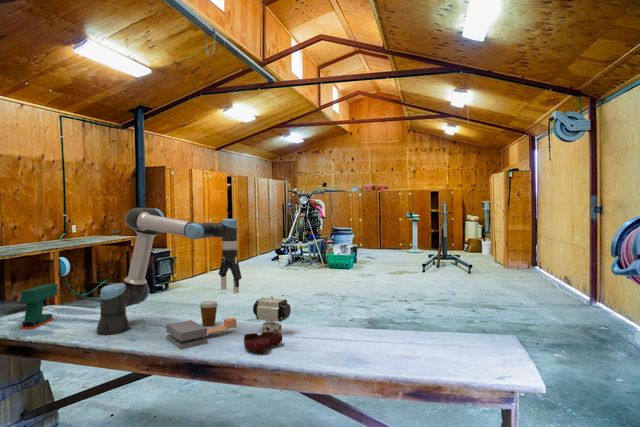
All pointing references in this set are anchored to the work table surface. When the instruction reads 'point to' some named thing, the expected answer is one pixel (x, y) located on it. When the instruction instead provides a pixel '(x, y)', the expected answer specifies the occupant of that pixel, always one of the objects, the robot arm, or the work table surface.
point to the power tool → (37, 305)
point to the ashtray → (261, 341)
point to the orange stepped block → (227, 325)
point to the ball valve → (271, 312)
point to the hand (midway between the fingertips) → (229, 291)
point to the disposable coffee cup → (208, 312)
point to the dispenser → (186, 334)
